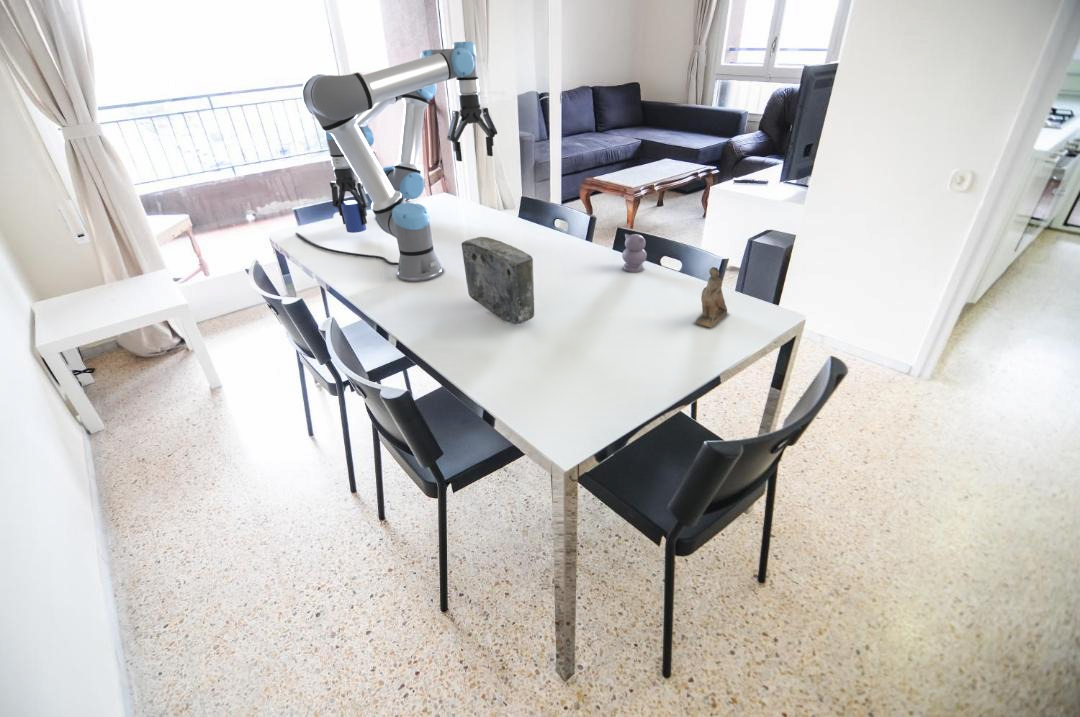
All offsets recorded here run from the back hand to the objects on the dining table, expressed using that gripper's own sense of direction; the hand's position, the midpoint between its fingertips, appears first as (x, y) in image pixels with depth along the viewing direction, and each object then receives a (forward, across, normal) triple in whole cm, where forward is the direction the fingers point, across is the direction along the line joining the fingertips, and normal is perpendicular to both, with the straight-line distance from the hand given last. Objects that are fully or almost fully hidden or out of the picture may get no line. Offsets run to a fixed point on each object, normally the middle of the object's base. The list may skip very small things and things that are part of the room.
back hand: (355, 223), depth 211 cm
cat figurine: (+6, +118, -23) cm, 120 cm away
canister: (+3, 0, 0) cm, 3 cm away
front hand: (-27, +57, -2) cm, 63 cm away
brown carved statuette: (+6, +141, -58) cm, 153 cm away
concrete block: (+7, +82, -63) cm, 104 cm away
